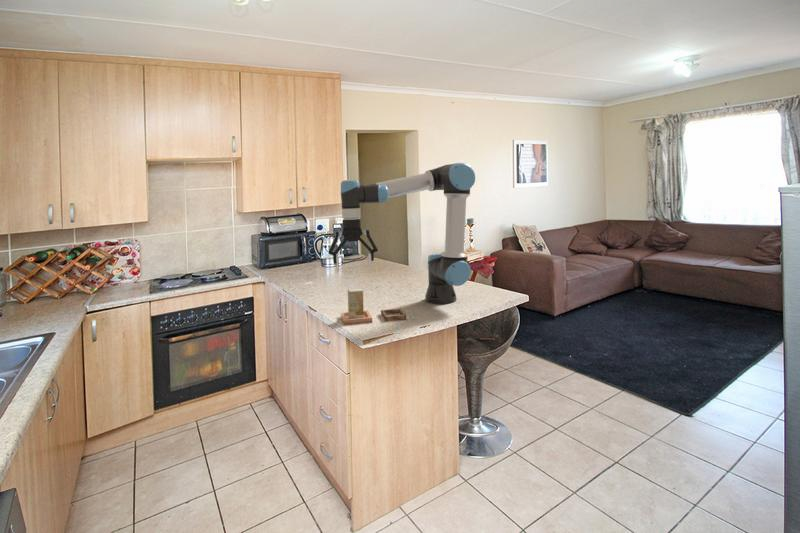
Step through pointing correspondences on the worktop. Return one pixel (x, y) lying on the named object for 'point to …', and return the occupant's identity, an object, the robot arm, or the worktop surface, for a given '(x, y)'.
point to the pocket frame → (395, 317)
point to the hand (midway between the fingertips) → (354, 269)
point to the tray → (348, 321)
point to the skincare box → (355, 303)
